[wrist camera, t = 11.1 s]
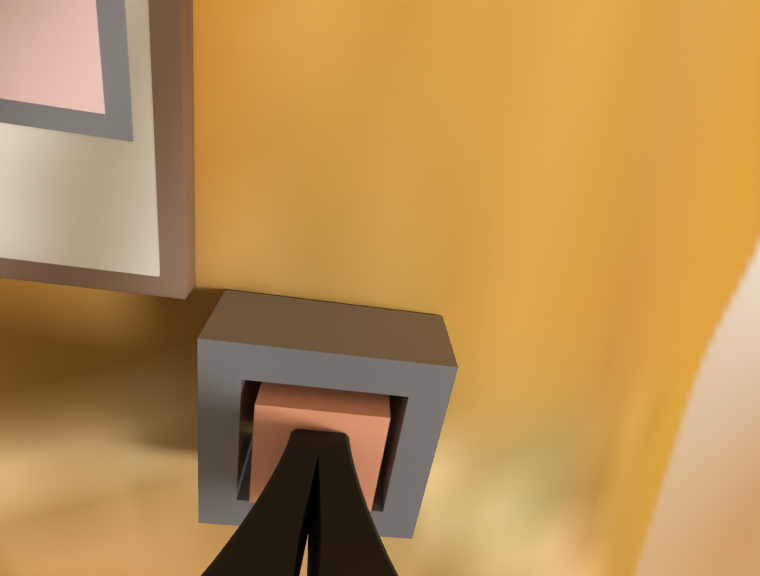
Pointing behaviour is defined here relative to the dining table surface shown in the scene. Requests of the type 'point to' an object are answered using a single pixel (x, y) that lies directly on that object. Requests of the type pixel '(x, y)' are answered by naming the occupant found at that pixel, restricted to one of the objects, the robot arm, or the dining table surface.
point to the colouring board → (98, 144)
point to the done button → (318, 428)
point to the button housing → (324, 370)
